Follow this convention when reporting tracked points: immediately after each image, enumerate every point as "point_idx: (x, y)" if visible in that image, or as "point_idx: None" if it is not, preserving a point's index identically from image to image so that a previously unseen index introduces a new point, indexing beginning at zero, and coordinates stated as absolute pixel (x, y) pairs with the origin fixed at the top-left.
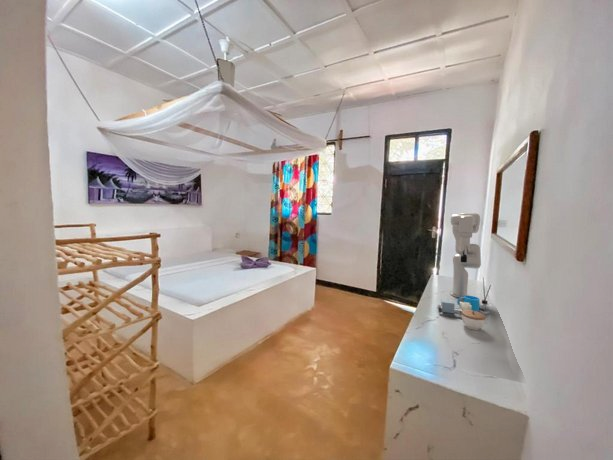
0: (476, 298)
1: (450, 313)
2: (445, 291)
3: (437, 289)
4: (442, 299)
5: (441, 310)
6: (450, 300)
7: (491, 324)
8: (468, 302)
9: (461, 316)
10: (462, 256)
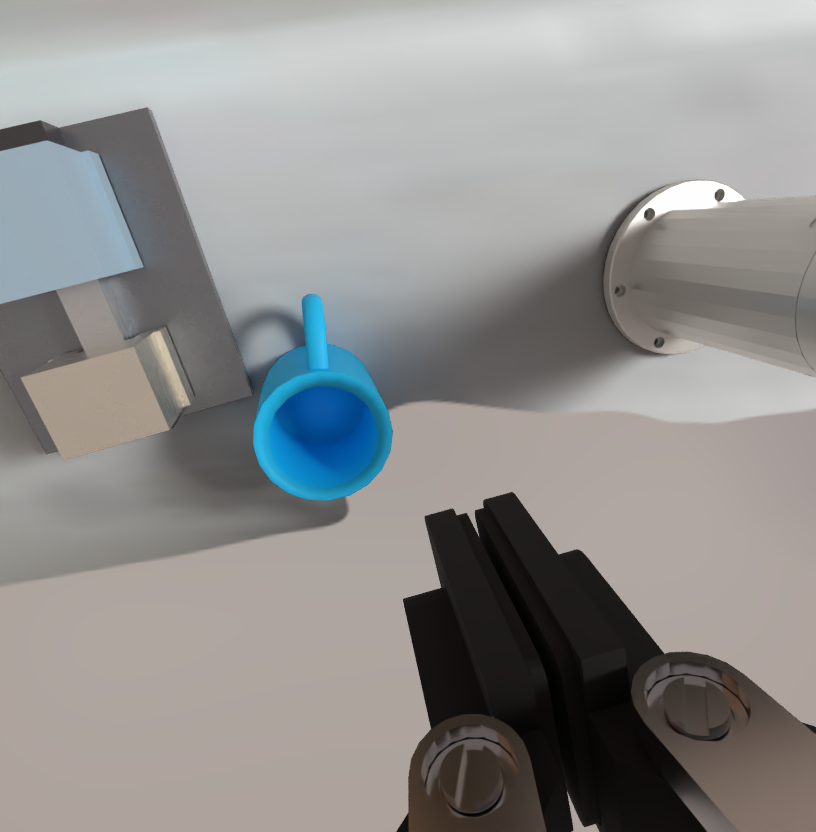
0: (359, 470)
1: None
2: (748, 127)
3: (786, 31)
4: (35, 155)
5: None
6: (79, 250)
7: (83, 549)
8: (259, 406)
9: (16, 360)
10: (493, 724)
